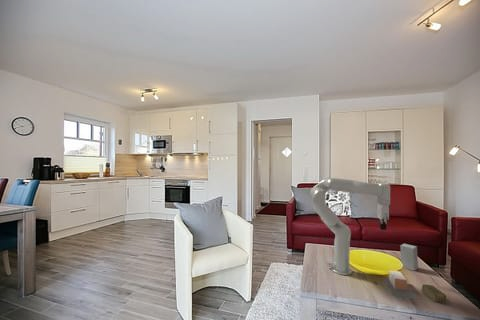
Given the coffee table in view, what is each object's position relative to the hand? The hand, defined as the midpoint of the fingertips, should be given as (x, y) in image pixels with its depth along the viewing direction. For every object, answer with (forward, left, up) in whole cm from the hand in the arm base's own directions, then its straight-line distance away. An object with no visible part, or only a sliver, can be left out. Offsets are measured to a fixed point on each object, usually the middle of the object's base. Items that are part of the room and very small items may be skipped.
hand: (383, 229), depth 156 cm
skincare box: (+20, +15, -29) cm, 39 cm away
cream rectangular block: (+4, -21, -26) cm, 34 cm away
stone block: (+19, -23, -30) cm, 42 cm away
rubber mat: (+4, -19, -29) cm, 35 cm away
